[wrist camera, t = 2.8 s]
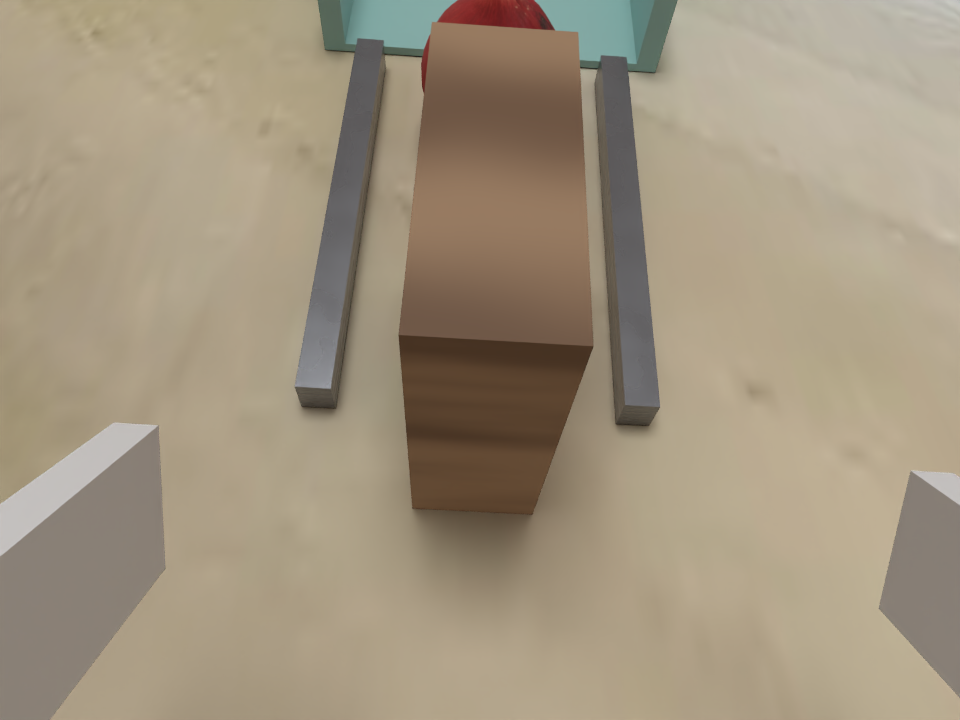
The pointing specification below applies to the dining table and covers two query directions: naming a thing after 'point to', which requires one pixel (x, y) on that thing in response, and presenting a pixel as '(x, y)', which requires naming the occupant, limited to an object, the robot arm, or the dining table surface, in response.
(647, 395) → the slot rails
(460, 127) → the pusher block
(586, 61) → the tray
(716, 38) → the dining table surface
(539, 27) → the onion
